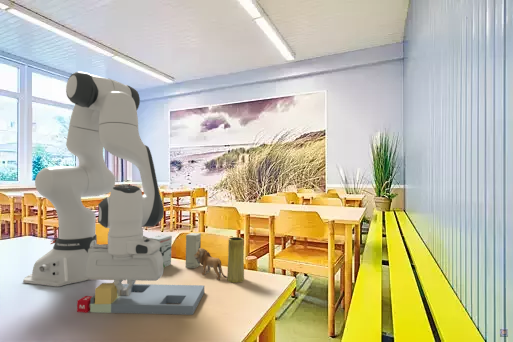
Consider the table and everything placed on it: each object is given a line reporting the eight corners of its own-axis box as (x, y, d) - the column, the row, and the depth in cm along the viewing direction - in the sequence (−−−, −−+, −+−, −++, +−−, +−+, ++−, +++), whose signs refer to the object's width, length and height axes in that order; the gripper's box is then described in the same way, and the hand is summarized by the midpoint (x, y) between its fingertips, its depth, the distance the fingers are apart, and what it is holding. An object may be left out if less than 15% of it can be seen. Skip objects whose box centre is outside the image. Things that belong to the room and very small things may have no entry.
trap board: (90, 312, 74) (90, 297, 74) (118, 290, 88) (118, 278, 88) (192, 314, 73) (192, 300, 73) (204, 292, 87) (204, 280, 87)
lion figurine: (191, 273, 104) (192, 249, 105) (201, 269, 109) (202, 246, 109) (222, 281, 96) (222, 255, 97) (231, 277, 101) (232, 251, 101)
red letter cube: (87, 313, 74) (87, 301, 74) (76, 312, 74) (77, 300, 74) (95, 307, 77) (95, 296, 77) (85, 306, 77) (85, 295, 77)
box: (195, 268, 110) (196, 235, 110) (185, 267, 111) (185, 234, 111) (200, 264, 115) (201, 232, 115) (190, 263, 116) (191, 232, 116)
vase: (248, 279, 98) (248, 238, 99) (235, 284, 94) (236, 241, 94) (235, 275, 102) (236, 236, 103) (223, 280, 98) (223, 238, 98)
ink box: (158, 270, 107) (158, 239, 107) (147, 269, 109) (147, 238, 109) (171, 264, 115) (172, 234, 116) (161, 262, 117) (162, 234, 117)
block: (94, 304, 74) (95, 288, 74) (102, 297, 78) (102, 283, 78) (110, 303, 74) (111, 288, 74) (117, 297, 78) (117, 282, 78)
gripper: (81, 246, 75) (79, 299, 74) (157, 247, 74) (156, 301, 74) (95, 241, 81) (94, 290, 81) (165, 242, 80) (165, 291, 80)
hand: (124, 295), depth 77 cm, fingers closed
